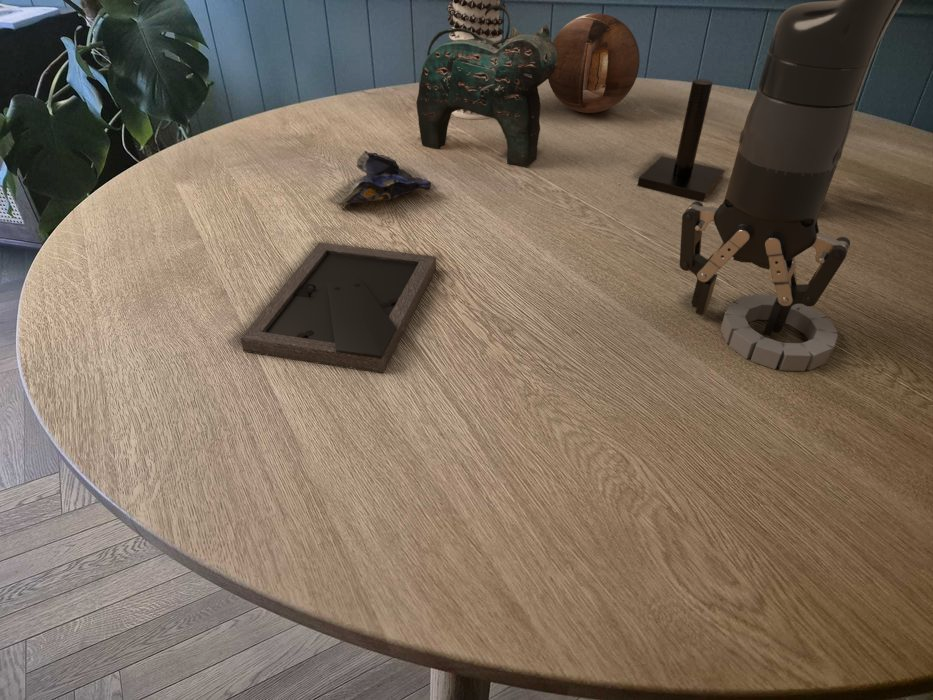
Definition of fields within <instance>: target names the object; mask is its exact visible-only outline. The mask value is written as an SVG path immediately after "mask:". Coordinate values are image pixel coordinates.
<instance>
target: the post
mask: <svg viewBox="0 0 933 700" xmlns="http://www.w3.org/2000/svg"><path fill="white" fill-rule="evenodd" d="M713 84H714V83H713V81H711V80H709V79H705V78H696V79H692V82H691V87H690V91H689V97H688V101H687V106H686V111H685V115H684V120H683V124H682V130H681V134H680V138H679V144H678V148H677V153H676V158H672V157H667V156H663V155H662V156H660V157H659V158H658V159H657V160H656V161H655V162H654V163H652V164H651V165H650V166H649V167H648V168H647V169H646V170H645V171H643V173H642V174H641V175H640V176H639V177H638V179H637V187H642V188H645V189H650V190H654V191H658V192H662V193H666V194H670V195H674V196H678V197H683V198H686V199H690V200H694V201H698V202H701V203H702V202H703V203H704V202H705V200H707V198H708V197H709V195H710V194H711V193H712V192H713V191H714V189H715V188H716V187H717V186H718V185H719V183H720V182H721V181H722V180H723V178H724V175H725V171H726V170H724V169H721V168H718V167H712V166H707V165H703V164H698V163H695V161H696V156H697V154H698V153H697V152H698V148H699V144H700V139H701V135H702V131H703V127H704V123H705V118H706V115H707V109H708V105H709V100H710V96H711V92H712V89H713V88H712V87H713Z"/></svg>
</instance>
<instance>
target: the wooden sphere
mask: <svg viewBox="0 0 933 700" xmlns="http://www.w3.org/2000/svg"><path fill="white" fill-rule="evenodd" d="M551 42H552V43H553V44H554V46H555V48H556V51H557V64H556V68H555V71H554V73H553V74H552V75H551V76H550V77H549V78H548V79H547V80H548V83H549V86H550V88H551V91H552V93H553V94H554V95H555V97H556V98H557V99H558V101H560V102H561V103H562V104H563V106H566V107H567V108H568V109H571V110H573V111H575V112H578V113H584V114H595V113H601V112H605V111H607V110H609V109H611V108H613V107H615V106H616V105H617V104H619V103H621V101H623V99H625V97H627V95H628V94H629V93H630V91H631V90H632V88H633V87H634V85H635V83H636V80H637V77H638V75H639V70H640V63H641V61H640V49H639V45H638V42H637V39H636V38H635V35H634V33H633V32H632V31H631V30H630V28H629V27H628V26H627V25H626V24H625V23H624V22H623V21H621V19H619V18H617V17H615V16H613V15H610V14H607V13H605V14H604V13H596V12H595V13H588V14H587V13H586V14H583V15H580V16H578V17H576V18H573V19H572V20H571V21H568V23H566V24H565V25H564V26H563V27H562V28H561V29H560V30H559V32H558V33H557V34H556V35H555V37H554V39H553V40H552V41H551Z"/></svg>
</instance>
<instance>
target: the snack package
mask: <svg viewBox="0 0 933 700" xmlns="http://www.w3.org/2000/svg"><path fill="white" fill-rule="evenodd" d="M356 167H357V168H358V170H361V172H364V173H365V174H366V175H364V176H363V177H362V178H360V179H358V180H356V182H355V183H354V184H353V186H352V187H351V190H350V192H349V193H348V194H347V195H346V196H345V197H344V198H342V199H341V200H338V201H335V204H336V205H338V206H339V207H340V210H343V209H344V208H345V206H346V205H349V204H354V203H365V202H375V201H386V200H387V201H388V200H393V199H396V198H399V197H402V196H403V195H406V194H408V193H411V192H413V191H416V190H418V189H420V190H426V191H430V190H431V186H432V182H431V181H429V180H427V179H425V178H421V177H413V175H411V173H409V172H407V171H406V170H404V169H402V168H400V166H399V165H398V163H397V160H395V159H393V158H391V157H390V156H387V155H384V154H378V153H377V152H369V151H368V150H365V151H363V153H362V154H361V155H360V156H359V157H358V158H357V162H356ZM426 197H429V195H428V194H426Z"/></svg>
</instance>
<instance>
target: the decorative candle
mask: <svg viewBox="0 0 933 700" xmlns="http://www.w3.org/2000/svg"><path fill="white" fill-rule="evenodd" d="M502 1H503V0H450V2H449V3H448V5H447V7H446V9H447V12H448V17H447V22H448V25H450V26H451V27H450V28H449V29H453V28H463V29H466V30H469V31H471V32H473V33H475V34H477V35H478V36H480V37H482V38H486V39H489V40H492V41H493V42H497V41H500V40H502V38H503V34H504V30H503V29H502V28H501V27H500V26H501V25H502V24H504V23H505V20H504V19H503V18H502V17H501V16H500V13H502V12H503V10H501V9H498V8H494V9H492V10H490V11H489V12H488V13H487V15H486V16H485V12H486V11H487V9H488V8H489V7H491V6H493V5H501V6H503V7H504V8H505V9H506V5H505V4H503V2H502ZM447 34H448V37H449V39H450V40H451V41H453V40H467V39H474V37H473V36H472V35H471V34H469V33H466V32H452V33H447ZM451 115H452V116H454V117H456V118H461V119H465V120H467V119H468V120H484V119H485V120H486V119H490V118H491V117H486V116H482V115H480V114H477V113H474V112H471V111H468V110H464V109H461V110H457V111H454V112H452V114H451Z"/></svg>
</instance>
